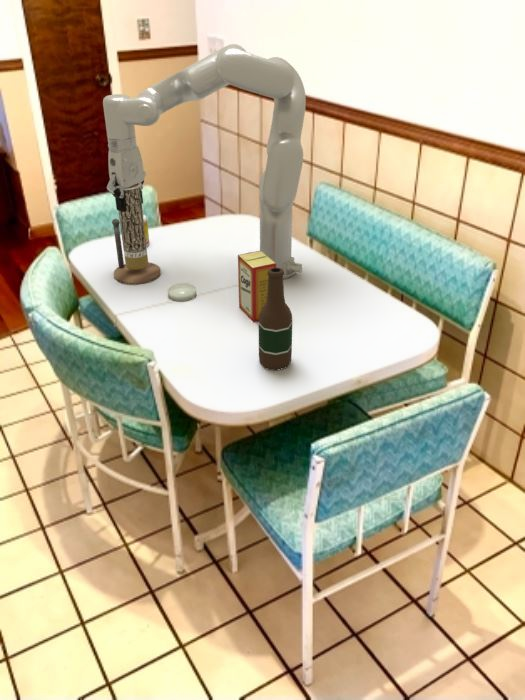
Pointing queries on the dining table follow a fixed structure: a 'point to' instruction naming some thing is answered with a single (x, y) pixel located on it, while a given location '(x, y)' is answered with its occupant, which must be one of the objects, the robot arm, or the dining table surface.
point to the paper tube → (133, 230)
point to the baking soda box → (253, 282)
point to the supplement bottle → (146, 229)
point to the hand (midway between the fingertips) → (130, 206)
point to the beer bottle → (275, 325)
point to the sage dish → (182, 292)
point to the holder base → (128, 275)
